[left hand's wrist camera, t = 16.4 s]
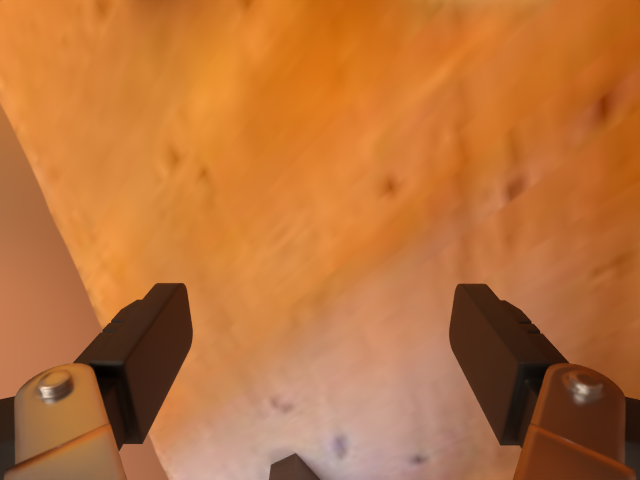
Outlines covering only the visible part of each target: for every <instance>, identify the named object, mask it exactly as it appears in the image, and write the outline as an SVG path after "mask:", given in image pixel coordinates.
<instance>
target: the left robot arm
mask: <svg viewBox="0 0 640 480" xmlns="http://www.w3.org/2000/svg"><path fill="white" fill-rule="evenodd" d="M192 337H193V329H192V321H191V315H190V308H189V301H188V294H187V289H186V286H185V284H183V283H157V284H155V285H154V286H153V288H152V289H151V290H150V291H149V292H148V294H147V295H146V296H145V297H144V298H143V299H142V300H136V301H134V302H133V303H131V304H130V305H128V306H126V307H125V308H123V309H121V310H120V312H119V313H118V314H117V315H116V316H115V317H114V318H113V319H112V320H111V323H109V324H108V325H107V326H106V327H105V328H104V329H103V332H102V333H100V334H99V335H98V336H97V337H96V338H95V339H94V340H93V341H92V343H91V344H90V345H89V346H88V347H87V348H86V349H85V350H84V351H83V353H82V354H81V355H80V356H79V357H78V358H77V359H76V360H75V361H74V362H73V363H71V364H64V365H60V366H57V367H53V368H51V369H48V370H46V371H44V372H42V373H40V374H38V375H36V376H35V377H33V378H32V379H30V380H29V381H27V382H26V383H25V384H24V385H23V386H22V387H21V388H20V389H19V391H18V392H17V394H16V396H14V397H10V398H5V399H0V480H127V478H126V474H125V471H124V468H123V464H122V461H121V458H120V454H119V451H120V449H121V447H122V445H123V444H143V442H144V440H145V438H146V436H147V434H148V432H149V430H150V428H151V426H152V424H153V422H154V420H155V418H156V416H157V414H158V412H159V410H160V408H161V406H162V404H163V402H164V400H165V398H166V396H167V394H168V392H169V390H170V388H171V386H172V384H173V382H174V380H175V378H176V376H177V374H178V372H179V370H180V368H181V366H182V364H183V362H184V360H185V358H186V356H187V354H188V352H189V350H190V347H191V344H192ZM449 338H450V344H451V348H452V351H453V353H454V355H455V357H456V359H457V361H458V363H459V365H460V366H461V368H462V370H463V372H464V374H465V376H466V378H467V380H468V382H469V384H470V386H471V388H472V390H473V392H474V394H475V396H476V398H477V400H478V402H479V404H480V406H481V408H482V410H483V412H484V414H485V416H486V418H487V420H488V422H489V424H490V426H491V428H492V430H493V431H494V433H495V435H496V437H497V439H498V441H499V443H500V445H520V447H521V448H522V451H521V454H520V458H519V461H518V464H517V468H516V471H515V474H514V477H513V480H640V400H637V399H633V398H628V397H625V396H624V394H623V392H622V391H621V389H620V388H619V387H618V386H617V385H616V384H615V383H614V382H613V381H611V380H610V379H608V378H607V377H606V376H604V375H602V374H600V373H598V372H596V371H594V370H592V369H589V368H587V367H583V366H580V365H576V364H570V363H569V362H568V361H567V360H566V359H565V358H564V357H563V356H562V354H561V353H560V352H559V351H558V350H557V349H556V348H555V347H554V346H553V345H552V344H551V342H550V341H549V340H548V339H547V338H546V337H545V336H544V335H543V334H540V330H539V329H538V328H537V327H536V326H535V325H534V324H532V323H531V321H530V319H529V318H528V317H527V316H526V315H525V314H524V313H523V312H522V311H521V310H520V309H518V308H517V307H515V306H513V305H512V304H510V303H508V302H507V301H505V300H499V298H498V297H497V296H496V295H495V294H494V293H493V291H492V290H491V289H490V288H489V287H488V286H487V285H486V284H458V285H457V287H456V290H455V295H454V302H453V308H452V315H451V322H450V329H449Z"/></svg>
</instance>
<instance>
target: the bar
mask: <svg viewBox="0 0 640 480" xmlns="http://www.w3.org/2000/svg"><path fill="white" fill-rule="evenodd" d="M269 480H320V479H319V478H318V477H317V476H316V475H315V474H314V473H313V472H312V471H311V470H310V469H309V468H308V467H307V465H306V464H305V463H304V462H303V461H302V460H301V459H300V458H299V457H298V456H297V455H296V454H293V455H291V456H289V457H287V458H285V459H283V460H281V461H278V462H276V463H274V464H272V465H271V469H270V477H269Z"/></svg>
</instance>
